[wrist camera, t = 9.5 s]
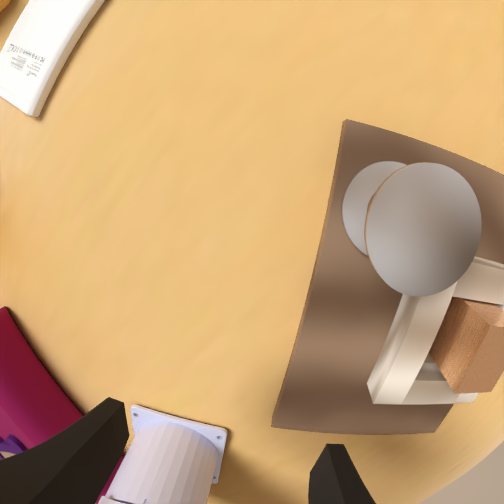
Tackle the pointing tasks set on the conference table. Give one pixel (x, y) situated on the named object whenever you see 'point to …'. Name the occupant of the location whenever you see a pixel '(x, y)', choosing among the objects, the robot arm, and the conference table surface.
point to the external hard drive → (41, 49)
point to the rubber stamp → (4, 4)
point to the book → (30, 397)
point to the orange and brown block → (470, 345)
